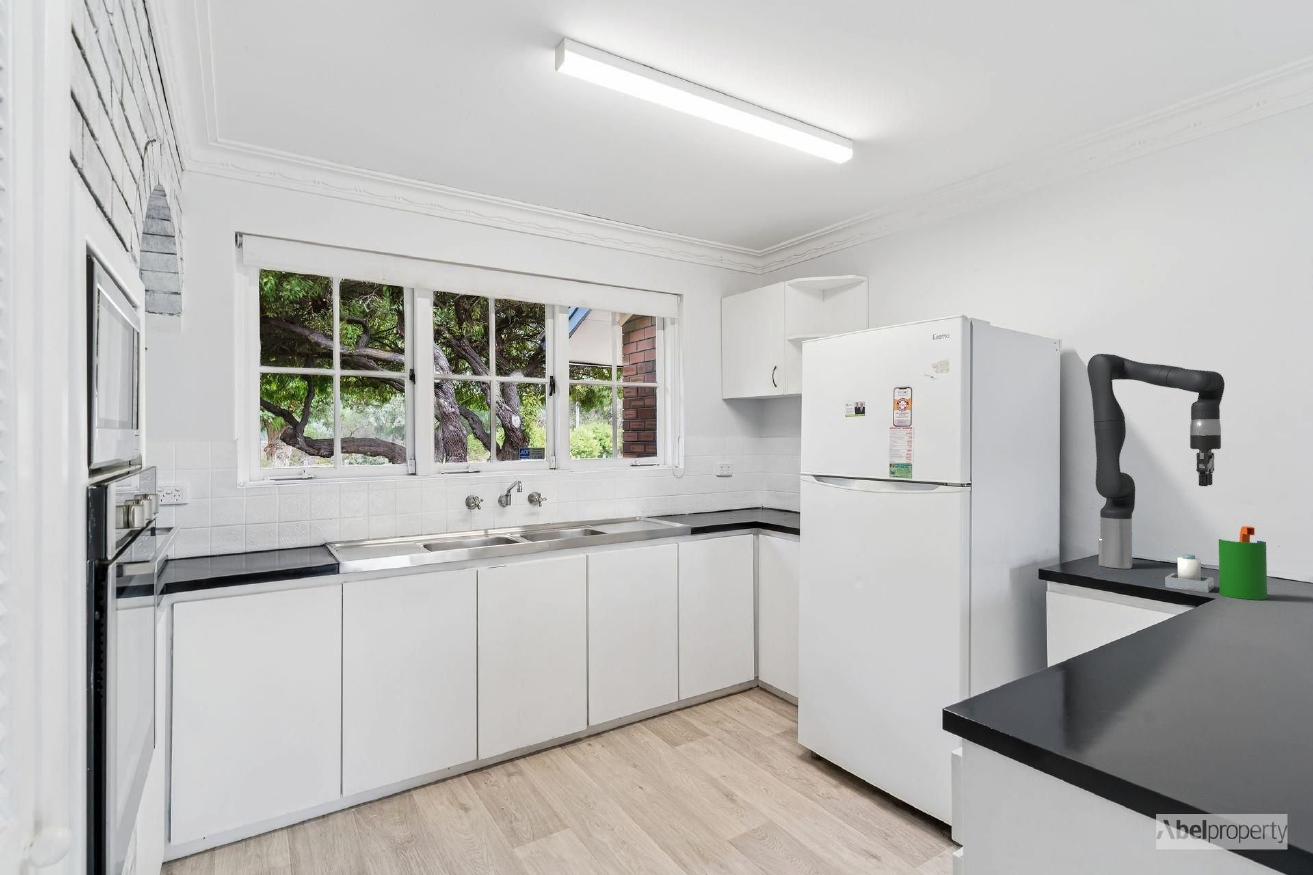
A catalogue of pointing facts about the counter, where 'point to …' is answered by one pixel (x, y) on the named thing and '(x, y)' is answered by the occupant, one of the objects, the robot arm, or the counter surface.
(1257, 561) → the green cylindrical container
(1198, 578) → the white cylinder
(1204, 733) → the counter surface
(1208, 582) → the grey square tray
